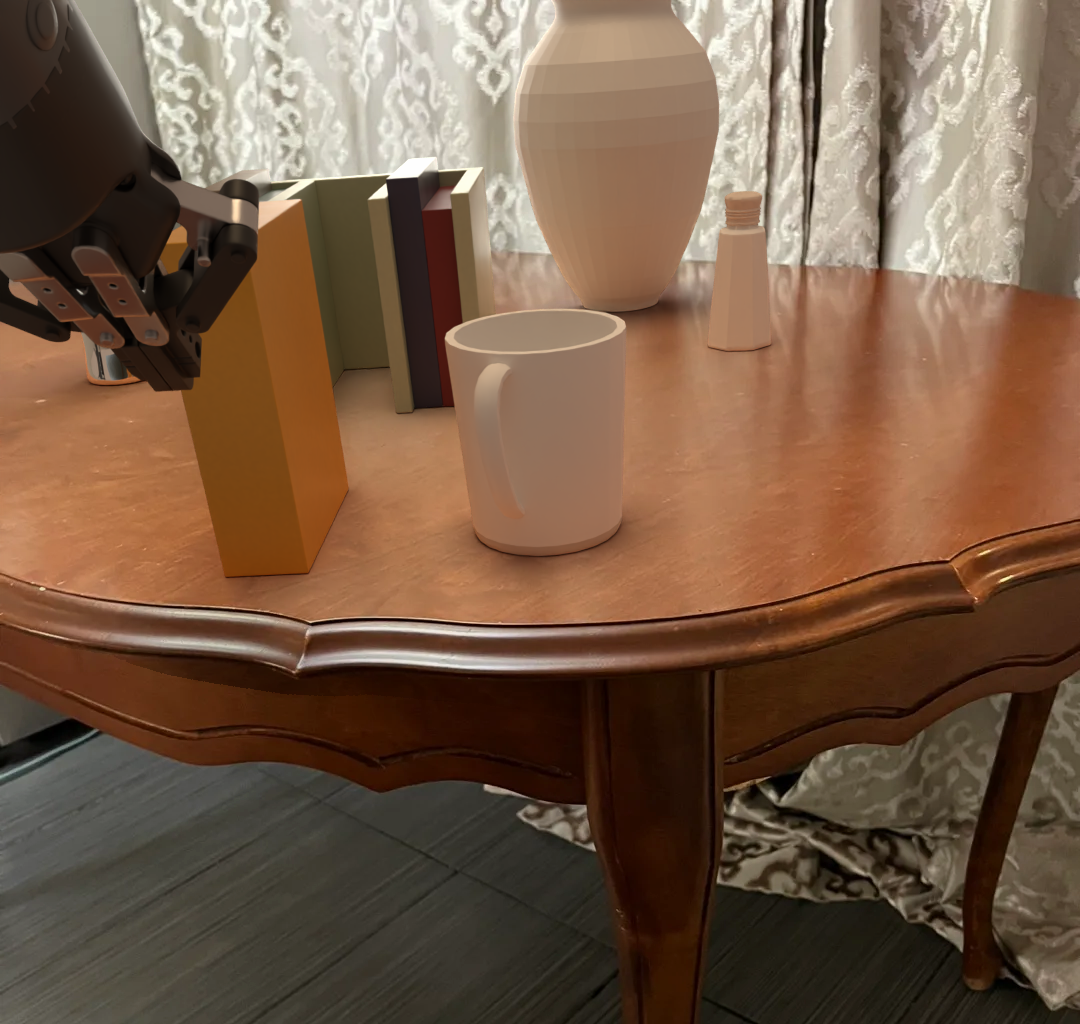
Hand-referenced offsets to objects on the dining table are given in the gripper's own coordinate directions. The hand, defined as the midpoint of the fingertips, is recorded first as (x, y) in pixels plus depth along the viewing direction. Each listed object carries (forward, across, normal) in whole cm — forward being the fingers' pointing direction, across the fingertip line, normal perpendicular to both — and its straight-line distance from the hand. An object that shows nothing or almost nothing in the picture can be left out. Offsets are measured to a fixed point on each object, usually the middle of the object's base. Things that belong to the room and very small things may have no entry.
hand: (176, 370), depth 46 cm
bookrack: (+37, 0, -20) cm, 41 cm away
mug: (+15, -14, +2) cm, 21 cm away
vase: (+54, -20, -36) cm, 68 cm away
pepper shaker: (+42, -29, -24) cm, 56 cm away
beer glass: (+42, +22, -25) cm, 54 cm away
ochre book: (+17, 0, 0) cm, 17 cm away
